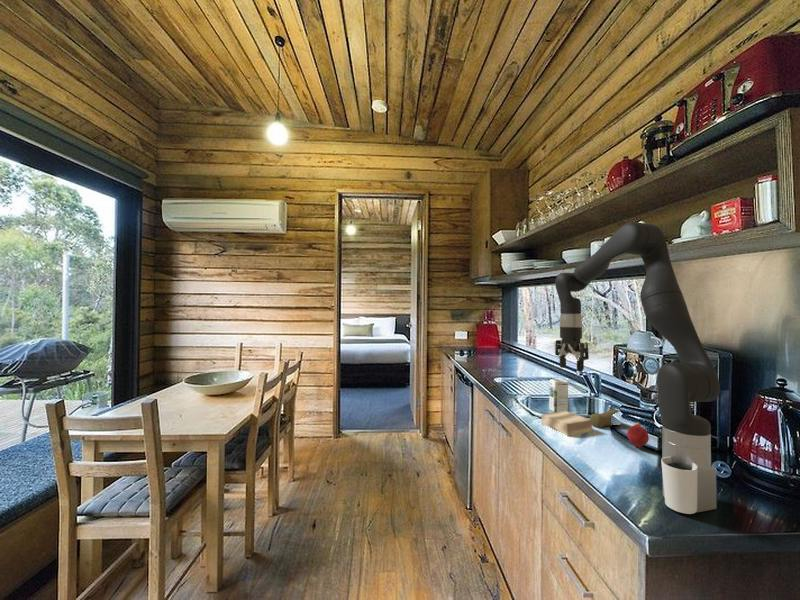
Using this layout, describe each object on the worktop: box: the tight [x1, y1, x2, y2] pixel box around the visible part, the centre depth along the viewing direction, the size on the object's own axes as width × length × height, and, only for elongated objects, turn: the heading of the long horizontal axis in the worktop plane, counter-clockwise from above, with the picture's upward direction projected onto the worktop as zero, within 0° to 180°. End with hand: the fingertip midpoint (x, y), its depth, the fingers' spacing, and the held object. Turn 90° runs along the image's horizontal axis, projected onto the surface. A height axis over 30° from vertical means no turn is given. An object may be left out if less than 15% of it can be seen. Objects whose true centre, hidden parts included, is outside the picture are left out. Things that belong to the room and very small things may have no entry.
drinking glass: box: [660, 457, 698, 515], centre depth 81 cm, size 7×7×10 cm
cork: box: [589, 409, 618, 429], centre depth 134 cm, size 6×6×11 cm
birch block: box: [540, 411, 593, 437], centre depth 131 cm, size 12×12×5 cm
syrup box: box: [548, 378, 569, 413], centre depth 149 cm, size 6×6×14 cm
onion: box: [626, 422, 649, 448], centre depth 114 cm, size 6×6×8 cm
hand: (571, 369), depth 131 cm, fingers open, 8 cm apart
